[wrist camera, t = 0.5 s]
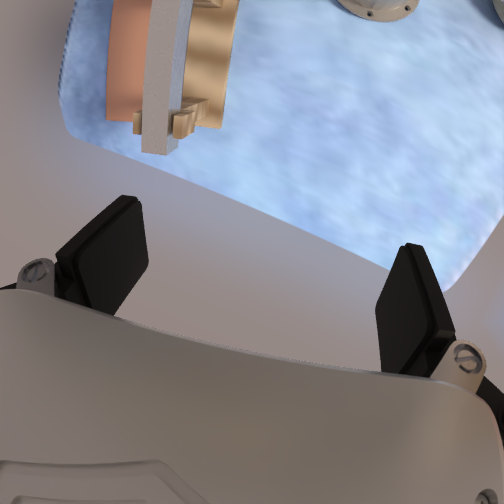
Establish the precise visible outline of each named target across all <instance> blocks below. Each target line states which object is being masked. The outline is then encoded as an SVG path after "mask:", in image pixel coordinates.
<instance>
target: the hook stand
mask: <svg viewBox="0 0 504 504" xmlns="http://www.w3.org/2000/svg"><path fill="white" fill-rule="evenodd" d="M238 4H239V0H193V8H192V15H191V22H190V29H189V37H188V45H187V53H186V62H185V72H184V82H183V93H182V101H181V110H180V113H179V114H177V115H174V123H173V138H175V139H183V138H185V137H186V136H188V135H189V134H191V133H193V132H194V128H195V126H202V127H210V128H217V129H220V128H221V127H222V120H223V112H224V103H225V95H226V87H227V79H228V72H229V64H230V57H231V50H232V43H233V36H234V30H235V23H236V17H237V11H238ZM133 134H139V135H141V134H142V110H139V111H137V112H134V113H133Z"/></svg>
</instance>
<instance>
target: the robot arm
mask: <svg viewBox="0 0 504 504" xmlns="http://www.w3.org/2000/svg"><path fill="white" fill-rule="evenodd" d="M337 1H338V2H339V3H340V4H341V5H342V6H343V7H344V8H345V9H347V10H348V11H350V12H351V13H353V14H355V15H357V16H359V17H361V18H364V19H367V20H370V21H376V22H393V21H397V20H400V19H403V18H405V17H406V16H408V15H409V14H411V13H412V12H413V11H414V10H415V8H416V7H417V5H418V3H419V0H337ZM501 1H502V2H503V3H504V0H501ZM405 8H407V11H406V10H405ZM367 13H369V14H370V15H371V16H368V15H367ZM55 255H56V258H57V262H56V263H55V264H54V263H53V262H52V260H50V259H47V258H40V259H36V260H33V261H31V262H29V263H28V264H26V265H25V266H24V267H23V268H22V269H21V270H20V272H19V274H18V278H17V283H14V284H11V285H8V286H5V287H2V288H0V504H504V394H503V393H502V392H501V391H500V390H499V389H498V388H497V387H496V386H495V385H494V384H493V383H491V382H490V381H489V380H488V379H487V378H486V377H485V376H484V374H485V371H486V367H487V366H486V360H485V357H484V355H483V353H482V352H481V350H480V349H479V348H478V347H477V346H476V345H475V344H473V343H471V342H470V341H466V340H456V336H455V328H454V325H453V322H452V319H451V316H450V313H449V311H448V308H447V305H446V302H445V299H444V297H443V294H442V291H441V289H440V286H439V284H438V281H437V279H436V276H435V274H434V271H433V269H432V266H431V264H430V262H429V259H428V257H427V255H426V252H425V250H424V248H423V246H421V245H416V244H412V243H406V245H405V246H401V247H400V248H399V251H398V253H397V256H396V258H395V261H394V263H393V266H392V268H391V271H390V273H389V276H388V278H387V280H386V283H385V285H384V288H383V290H382V292H381V294H380V297H379V299H378V301H377V304H376V308H375V314H376V321H377V330H378V339H379V349H380V360H381V372H376V371H368V370H361V369H353V368H346V367H339V366H332V365H325V364H318V363H312V362H306V361H300V360H294V359H289V358H283V357H277V356H272V355H267V354H262V353H257V352H252V351H247V350H242V349H237V348H233V347H229V346H224V345H220V344H215V343H211V342H207V341H203V340H198V339H194V338H190V337H186V336H182V335H179V334H175V333H171V332H167V331H164V330H160V329H156V328H153V327H149V326H146V325H142V324H138V323H135V322H132V321H128V320H125V319H122V318H119V317H115V316H114V314H115V313H116V311H117V310H118V309H119V306H121V304H122V303H123V301H124V300H125V298H126V297H127V295H128V294H129V293H130V291H131V290H132V288H133V287H134V285H135V284H136V283H137V281H138V280H139V279H140V277H141V276H142V274H143V273H144V272H145V270H146V268H147V266H148V262H149V259H148V252H147V245H146V237H145V230H144V221H143V213H142V204H141V202H140V201H138V199H137V197H134V196H126V195H121V196H120V197H118V198H117V199H116V200H115V201H114V202H112V203H111V204H110V205H109V206H108V207H106V208H105V209H104V210H103V211H102V212H101V213H99V214H98V215H97V216H96V217H95V218H94V219H92V220H91V221H90V222H89V223H88V224H87V225H86V226H85V227H83V228H82V229H81V230H80V231H79V232H78V233H77V234H76V235H75V236H74V237H73V238H72V239H70V241H68V242H67V243H66V244H65V245H64V246H63V247H62V248H61V249H60V250H59V251H58V252H57V253H56V254H55Z"/></svg>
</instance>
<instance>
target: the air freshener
mask: <svg viewBox="0 0 504 504" xmlns="http://www.w3.org/2000/svg"><path fill="white" fill-rule="evenodd" d="M492 1H493V4H494V7H495V10H496V12H497V14H498V16H499V17H500V19H501V20H502V22H503V23H504V3H503V2H502V1H501V0H492Z"/></svg>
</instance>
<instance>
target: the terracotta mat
mask: <svg viewBox="0 0 504 504" xmlns="http://www.w3.org/2000/svg"><path fill="white" fill-rule="evenodd" d="M151 6H152V0H114V4H113V11H112V19H111V28H110V38H109V49H108V64H107V85H106V120H112V121H129V122H133V113H134V112H137V111H139V110H142V105H143V85H144V70H145V58H146V47H147V38H148V29H149V21H150V13H151Z"/></svg>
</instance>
